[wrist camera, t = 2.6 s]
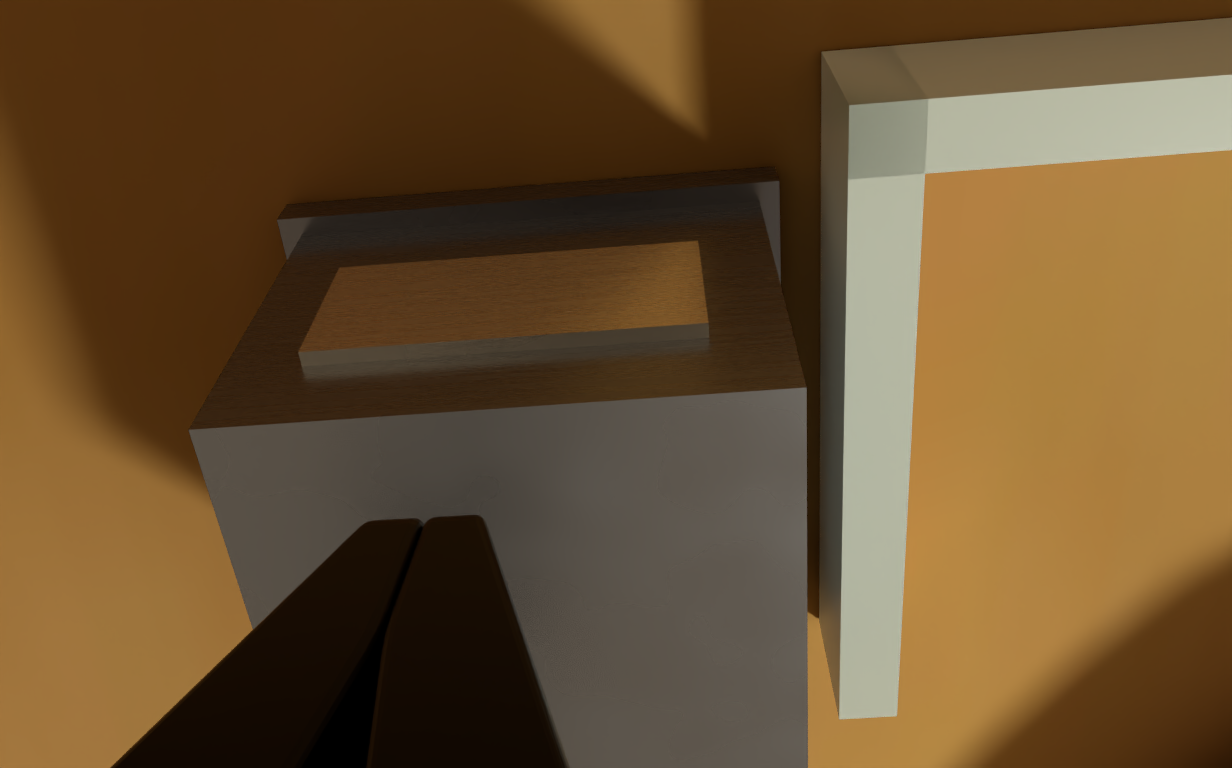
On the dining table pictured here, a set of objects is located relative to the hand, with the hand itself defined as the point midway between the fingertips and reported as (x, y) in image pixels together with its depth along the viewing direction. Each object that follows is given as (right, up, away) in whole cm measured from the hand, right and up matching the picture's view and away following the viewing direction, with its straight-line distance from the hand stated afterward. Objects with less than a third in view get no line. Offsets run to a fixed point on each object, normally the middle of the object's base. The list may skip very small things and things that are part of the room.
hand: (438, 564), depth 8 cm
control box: (0, +1, +12) cm, 12 cm away
